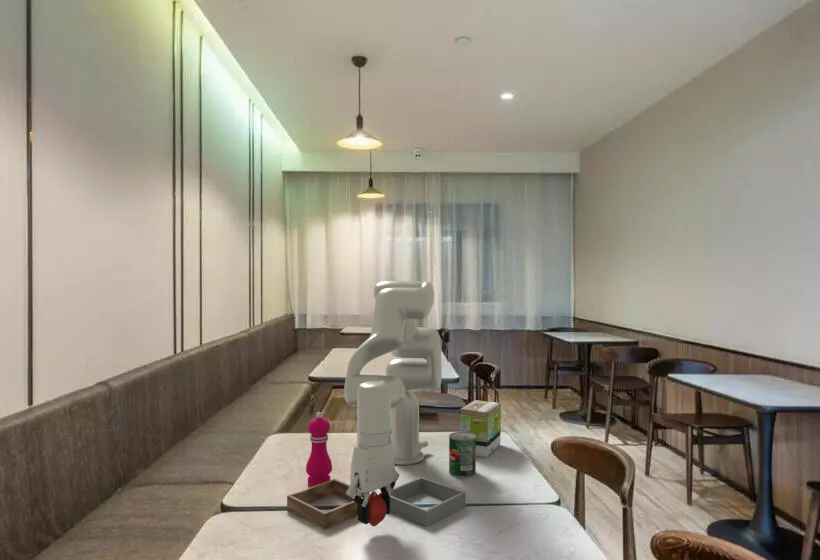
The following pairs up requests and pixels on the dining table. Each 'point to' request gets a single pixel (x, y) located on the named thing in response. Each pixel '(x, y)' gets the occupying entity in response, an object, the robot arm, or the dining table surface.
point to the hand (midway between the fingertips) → (373, 516)
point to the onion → (376, 508)
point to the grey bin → (428, 516)
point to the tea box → (482, 425)
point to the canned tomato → (462, 454)
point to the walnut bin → (315, 515)
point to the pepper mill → (318, 452)
